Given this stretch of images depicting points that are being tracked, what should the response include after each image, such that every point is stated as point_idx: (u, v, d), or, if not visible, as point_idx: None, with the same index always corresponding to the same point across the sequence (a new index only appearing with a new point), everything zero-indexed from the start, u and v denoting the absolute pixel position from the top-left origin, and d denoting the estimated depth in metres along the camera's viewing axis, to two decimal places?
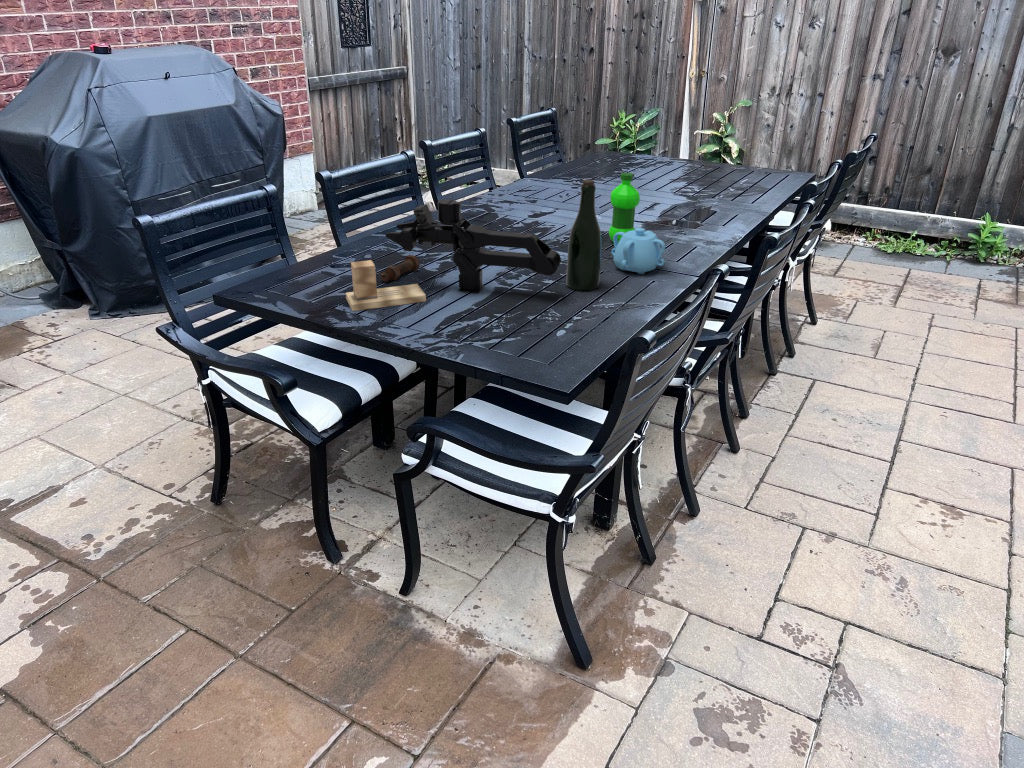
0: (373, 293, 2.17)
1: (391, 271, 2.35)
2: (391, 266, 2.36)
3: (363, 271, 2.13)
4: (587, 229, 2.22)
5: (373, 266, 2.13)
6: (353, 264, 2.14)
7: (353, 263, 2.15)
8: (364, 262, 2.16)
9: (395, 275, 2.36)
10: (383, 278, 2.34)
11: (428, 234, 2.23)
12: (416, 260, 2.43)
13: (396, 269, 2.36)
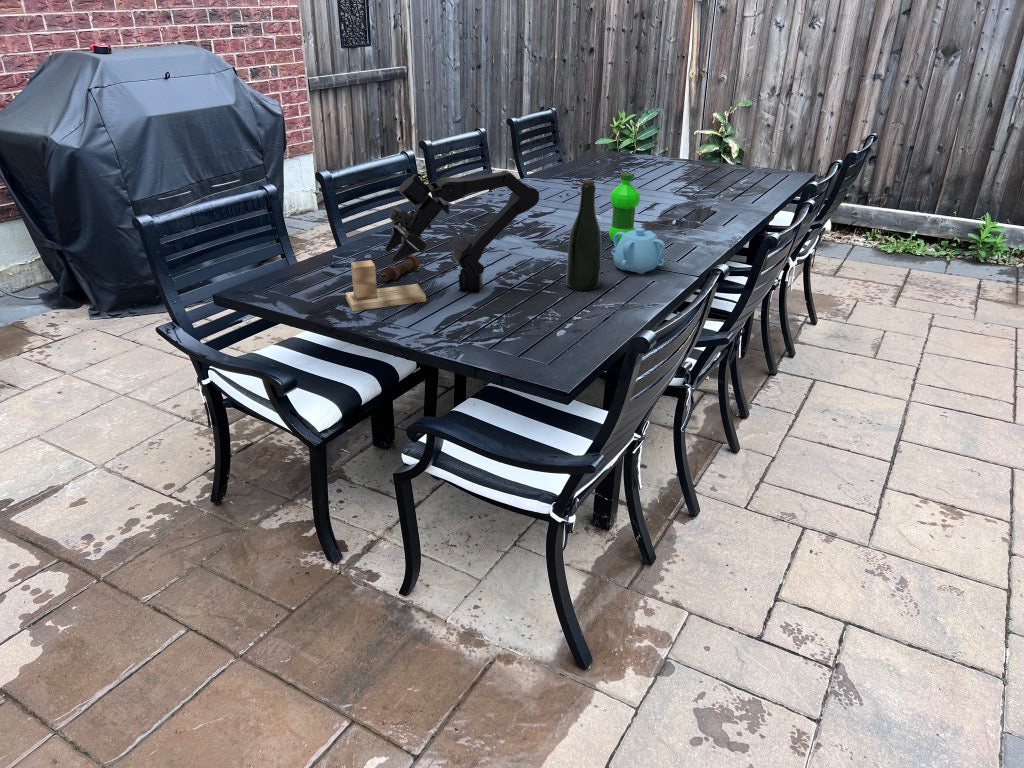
0: (373, 293, 2.17)
1: (391, 271, 2.35)
2: (391, 266, 2.36)
3: (363, 271, 2.13)
4: (587, 229, 2.22)
5: (373, 266, 2.13)
6: (353, 264, 2.14)
7: (353, 263, 2.15)
8: (364, 262, 2.16)
9: (395, 275, 2.36)
10: (383, 278, 2.34)
11: (420, 222, 2.12)
12: (416, 260, 2.43)
13: (396, 269, 2.36)
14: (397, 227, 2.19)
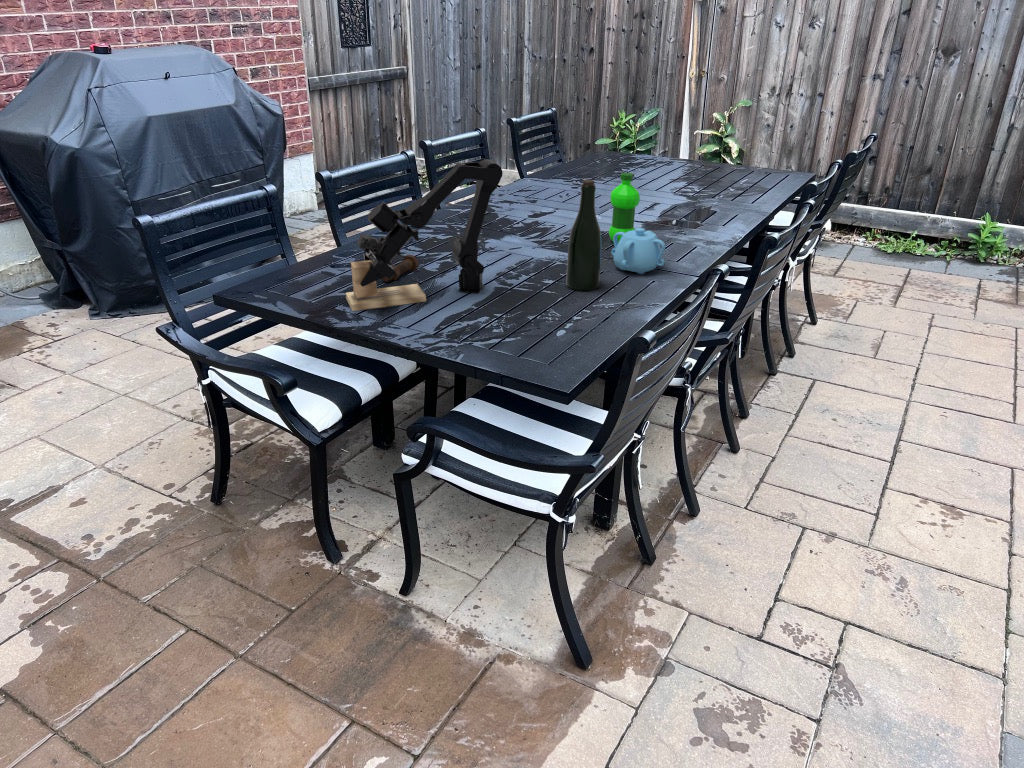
0: (373, 293, 2.17)
1: None
2: None
3: (363, 271, 2.13)
4: (587, 229, 2.22)
5: None
6: (353, 264, 2.14)
7: (353, 263, 2.15)
8: (364, 262, 2.16)
9: (395, 275, 2.36)
10: (384, 278, 2.34)
11: (389, 250, 2.13)
12: (415, 260, 2.43)
13: (396, 269, 2.36)
14: None
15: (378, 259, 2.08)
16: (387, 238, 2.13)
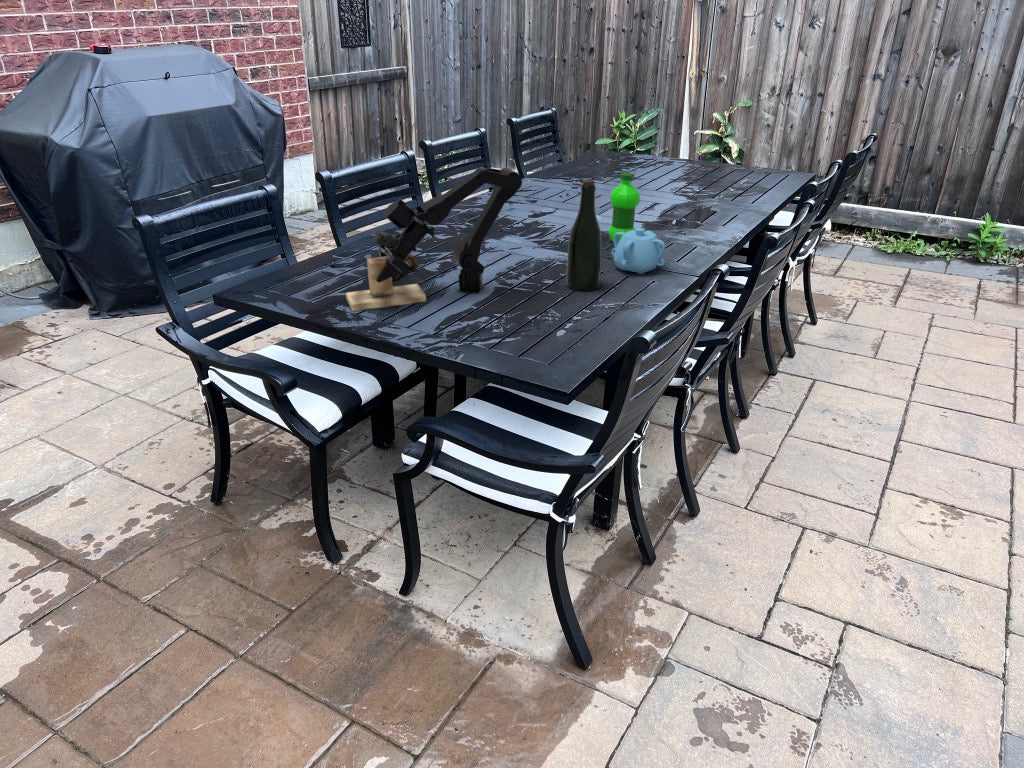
0: (389, 289, 2.18)
1: None
2: None
3: (379, 267, 2.14)
4: (587, 229, 2.22)
5: None
6: (369, 260, 2.15)
7: (369, 259, 2.16)
8: (380, 258, 2.17)
9: (396, 275, 2.36)
10: None
11: (405, 246, 2.14)
12: (415, 259, 2.43)
13: None
14: None
15: (394, 255, 2.10)
16: (403, 234, 2.14)
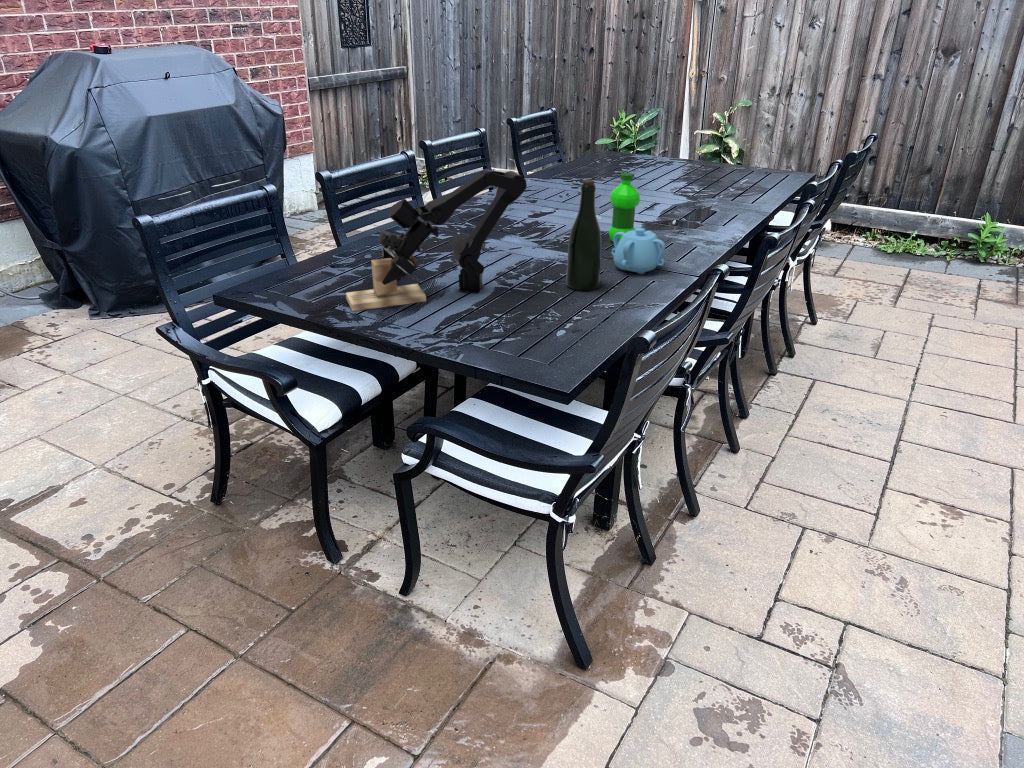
0: (393, 290, 2.19)
1: None
2: None
3: (383, 269, 2.15)
4: (587, 229, 2.22)
5: None
6: (374, 262, 2.16)
7: (373, 261, 2.17)
8: (384, 260, 2.18)
9: None
10: None
11: (409, 246, 2.14)
12: (414, 259, 2.43)
13: None
14: (387, 250, 2.21)
15: (399, 255, 2.10)
16: (407, 234, 2.14)
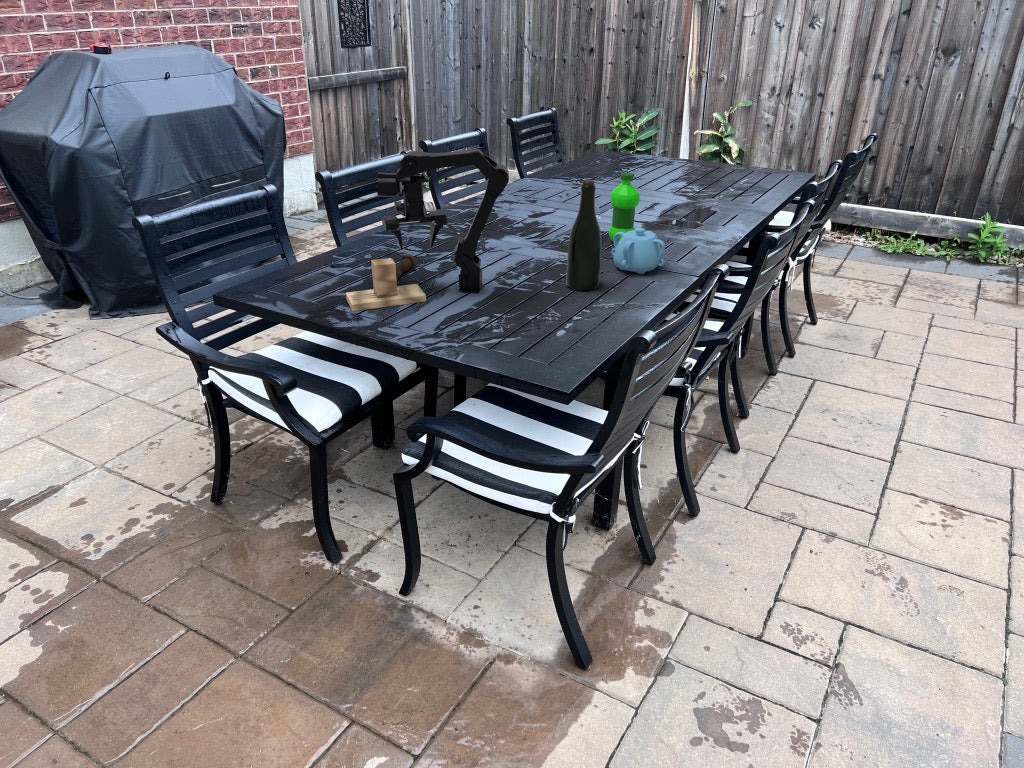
0: (393, 290, 2.19)
1: None
2: None
3: (383, 269, 2.15)
4: (587, 229, 2.22)
5: (393, 264, 2.15)
6: (374, 262, 2.16)
7: (373, 261, 2.17)
8: (384, 260, 2.18)
9: (396, 275, 2.36)
10: None
11: (404, 205, 2.18)
12: (413, 259, 2.44)
13: (397, 269, 2.36)
14: None
15: None
16: None
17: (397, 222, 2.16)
